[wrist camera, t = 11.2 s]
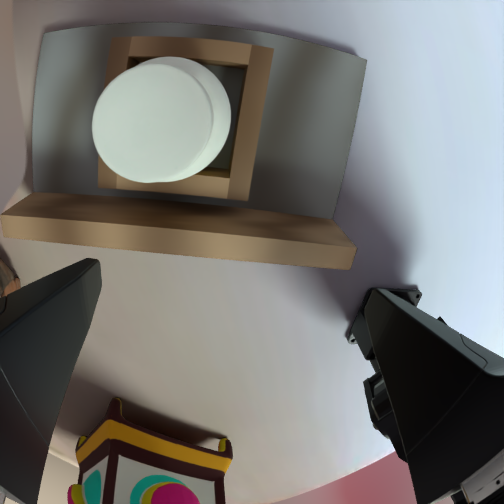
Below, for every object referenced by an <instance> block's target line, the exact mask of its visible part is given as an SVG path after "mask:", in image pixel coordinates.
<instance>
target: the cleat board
mask: <svg viewBox="0 0 504 504" xmlns="http://www.w3.org/2000/svg"><path fill="white" fill-rule="evenodd" d="M159 57H181V58H185V59H189V60H192V61H195V62H197V63H199V64H201V65H202V66H204V67H205V68H207V69H208V70H209V71H211V72H212V73H213V74H214V75H215V76H216V77H217V78H218V80H219V81H220V82H221V84H222V85H223V87H224V89H225V91H226V93H227V96H228V99H229V103H230V108H231V123H230V129H229V133H228V136H227V139H226V141H225V144H224V146H223V147H222V149H221V151H220V152H219V153H218V155H217V156H216V157H215V159H214V160H213V161H212V162H211V163H210V164H209V165H207V166H206V167H205V168H204V169H202V170H201V171H199V172H198V173H196V174H194V175H192V176H190V177H187V178H185V179H182V180H177V181H172V182H153V183H143V182H136V181H132V180H129V179H126V178H124V177H122V176H120V175H119V174H117V173H115V172H114V171H113V170H112V169H110V168H109V167H108V166H107V165H106V164H105V162H104V161H103V160H102V158H101V157H100V155H99V154H98V152H97V149H96V147H95V144H94V140H93V135H92V118H93V112H94V109H95V106H96V103H97V101H98V99H99V97H100V95H101V94H102V92H103V91H104V89H105V88H106V87H107V86H108V84H109V83H110V82H111V81H112V80H114V79H115V78H116V77H117V76H118V75H120V74H121V73H123V72H124V71H126V70H128V69H131V68H133V67H135V66H137V65H139V64H141V63H143V62H145V61H148V60H151V59H154V58H159ZM366 64H367V60H366V59H363V58H360V57H358V56H355V55H352V54H349V53H345V52H342V51H339V50H336V49H333V48H329V47H326V46H322V45H318V44H315V43H311V42H307V41H303V40H299V39H295V38H290V37H286V36H281V35H276V34H271V33H266V32H260V31H254V30H248V29H241V28H234V27H226V26H217V25H206V24H192V23H169V22H141V23H118V24H105V25H94V26H86V27H78V28H71V29H65V30H59V31H53V32H48V33H44V35H43V40H42V45H41V50H40V56H39V63H38V70H37V77H36V86H35V96H34V109H33V129H32V169H33V189H34V192H33V193H32V194H30V195H29V196H27V197H26V198H24V199H22V200H21V201H19V202H18V203H17V204H15V205H14V206H12V207H11V208H9V209H8V210H6V211H5V212H4V213H2V214H1V215H0V217H1V224H2V230H3V236H4V237H8V238H17V239H26V240H36V241H45V242H54V243H64V244H73V245H83V246H93V247H103V248H112V249H122V250H132V251H143V252H153V253H163V254H174V255H184V256H195V257H205V258H216V259H227V260H238V261H249V262H261V263H272V264H283V265H295V266H307V267H318V268H330V269H342V270H350V269H351V266H352V263H353V260H354V257H355V254H356V251H357V247H356V246H355V245H354V244H353V243H352V241H351V240H350V239H349V238H348V237H347V236H346V234H345V233H344V232H343V231H342V230H341V229H340V228H339V227H338V225H337V224H336V223H335V222H334V221H333V220H332V219H333V215H334V212H335V208H336V204H337V200H338V196H339V192H340V188H341V184H342V180H343V176H344V172H345V168H346V163H347V159H348V155H349V150H350V146H351V141H352V137H353V132H354V127H355V122H356V118H357V113H358V108H359V102H360V97H361V92H362V87H363V81H364V75H365V70H366Z"/></svg>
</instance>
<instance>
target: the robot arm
mask: <svg viewBox="0 0 504 504" xmlns="http://www.w3.org/2000/svg"><path fill="white" fill-rule="evenodd" d="M101 287H102V279H101V268H100V262H99V260H98V259H92V258H86V259H83V260H81V261H79V262H77V263H74V264H72V265H70V266H67V267H65V268H63V269H61V270H58V271H56V272H54V273H52V274H50V275H47V276H45V277H43V278H41V279H39V280H37V281H34V282H32V283H30V284H28V285H26V286H24V287H22V288H20V289H18V290H16V291H13V292H11V293H9V294H7V296H3V297H1V298H0V504H4V502H5V498H6V497H7V498H9V499H11V500H13V501H15V502H17V503H19V504H37V500H38V495H39V490H40V484H41V480H42V475H43V470H44V466H45V462H46V458H47V454H48V450H49V447H48V446H49V445H50V441H51V438H52V434H53V431H54V427H55V424H56V420H57V417H58V414H59V410H60V407H61V404H62V401H63V398H64V395H65V392H66V389H67V386H68V383H69V380H70V378H71V375H72V372H73V369H74V366H75V364H76V361H77V358H78V356H79V353H80V351H81V348H82V346H83V343H84V341H85V338H86V336H87V333H88V330H89V328H90V325H91V321H92V318H93V314H94V311H95V308H96V304H97V301H98V298H99V295H100V292H101ZM421 296H422V293H421V292H420V291H419V290H408V289H385V288H371V289H369V290H368V292H367V294H366V296H365V299H364V301H363V303H362V306H361V308H360V310H359V312H358V315H357V317H356V319H355V322H354V324H353V326H352V328H351V331H350V333H349V336H348V338H347V340H348V343H349V344H358V345H359V347H360V349H361V351H362V353H363V355H364V357H365V359H366V360H370V362H371V364H372V366H373V368H374V370H375V372H376V373H375V374H374V375H373V376H372V377H370V378H367V379H366V380H365V381H363V384H364V388H365V395H366V399H367V404H368V408H369V413H370V418H371V421H372V422H373V427H374V428H375V429H376V430H379V431H380V432H381V434H382V435H384V436H385V437H386V438H387V439H390V440H391V442H392V444H393V446H394V448H395V450H396V453H397V455H398V457H399V458H400V459H402V460H403V461H405V462H407V463H408V466H409V470H410V474H411V478H412V482H413V487H414V491H415V495H416V501H417V504H434V503H436V502H438V501H440V500H443V499H444V498H447V497H449V496H451V498H452V500H453V501H454V504H504V358H502V357H501V356H499V355H497V354H495V353H493V352H492V351H490V350H488V349H486V348H484V347H483V346H481V345H479V344H477V343H476V342H474V341H472V340H471V339H469V338H467V337H466V336H464V335H462V334H459V332H457V331H455V330H454V329H452V328H450V327H449V326H448V325H447V324H446V323H445V322H444V320H443V319H442V318H441V317H439V318H438V319H435V318H434V317H432V316H430V315H429V314H427V313H425V312H423V311H422V310H420V309H418V308H417V305H418V302H419V300H420V298H421Z"/></svg>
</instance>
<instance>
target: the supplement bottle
mask: <svg viewBox="0 0 504 504" xmlns="http://www.w3.org/2000/svg"><path fill="white" fill-rule="evenodd" d="M230 123H231V108H230V103H229V99H228V96H227V93H226V91H225V89H224V87H223V85H222V84H221V82H220V81H219V80H218V78H217V77H216V76H215V75H214V74H213V73H212V72H211V71H209V70H208V69H207V68H205V67H204V66H202V65H201V64H199V63H197V62H195V61H192V60H189V59H185V58H181V57H159V58H154V59H151V60H148V61H145V62H143V63H141V64H139V65H137V66H135V67H133V68H131V69H128V70H126V71H124V72H123V73H121V74H120V75H118V76H117V77H116V78H115V79H114V80H112V81H111V82H110V83H109V84H108V86H107V87H106V88H105V89H104V91H103V92H102V94H101V95H100V97H99V99H98V101H97V103H96V106H95V109H94V112H93V118H92V135H93V140H94V144H95V147H96V149H97V152H98V154H99V155H100V157H101V158H102V160H103V161H104V162H105V164H106V165H107V166H108V167H109V168H110V169H112V170H113V171H114V172H115V173H117V174H119V175H120V176H122V177H124V178H126V179H129V180H132V181H136V182H143V183H153V182H172V181H177V180H182V179H185V178H187V177H190V176H192V175H194V174H196V173H198V172H199V171H201V170H202V169H204V168H205V167H206V166H207V165H209V164H210V163H211V162H212V161H213V160H214V159H215V157H216V156H217V155H218V153H219V152H220V151H221V149H222V147H223V146H224V144H225V141H226V139H227V136H228V133H229V129H230Z"/></svg>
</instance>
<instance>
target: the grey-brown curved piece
mask: <svg viewBox="0 0 504 504" xmlns="http://www.w3.org/2000/svg"><path fill="white" fill-rule="evenodd" d="M20 288H21V287H20V279H18V278H14V274H13V272H12V271H11V270H10V269H9V267H8V266H7V265H6V264H5V263H4V262H3V261H2V260H1V259H0V296H1V297H3V296H7V294H9V293H11V292H13V291H16V290H18V289H20Z"/></svg>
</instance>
